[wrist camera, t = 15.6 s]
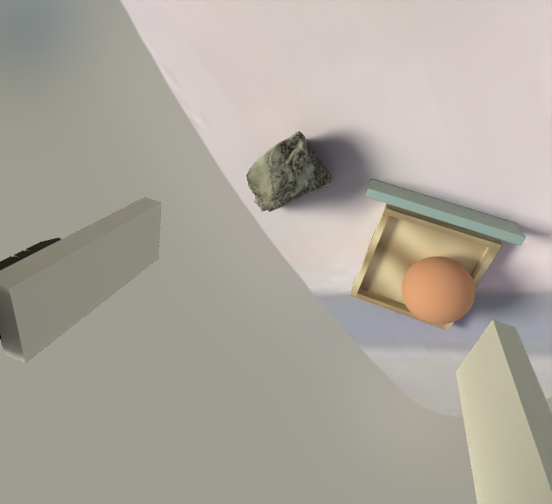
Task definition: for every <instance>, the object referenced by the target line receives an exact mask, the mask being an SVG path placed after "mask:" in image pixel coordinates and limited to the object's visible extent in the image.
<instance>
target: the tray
mask: <svg viewBox="0 0 552 504" xmlns="http://www.w3.org/2000/svg"><path fill="white" fill-rule="evenodd" d="M501 246H502V244H501V242H500V241H499V239H498V238H495V237H492V236H489V235H486V234H482V233H479V232H476V231H473V230H470V229H467V228H463V227H460V226H457V225H454V224H451V223H448V222H444V221H441V220H438V219H435V218H432V217H429V216H425V215H422V214H419V213H416V212H413V211H410V210H406V209H403V208H400V207H397V206H394V205H391V204H387V203H386V206H385V208H384V211H383V213H382V216H381V218H380V221H379V223H378V225H377V228H376V230H375V233H374V235H373V238H372V240H371V243H370V245H369V248H368V250H367V253H366V255H365V258H364V260H363V263H362V265H361V268H360V270H359V272H358V275H357V277H356V280H355V282H354V285H353V287H352V291H351V296H354V297H356V298H359V299H362V300H365V301H367V302H370V303H373V304H376V305H378V306H381V307H384V308H386V309H389V310H392V311H395V312H397V313H400V314H403V315H406V316H408V317H411V318H414V319H417V320H419V321H422V322H425V321H423V320H421V319H419V318H418V317H416V316H415V315H414V314H413V313H411V312H410V310H409V309H408V308H407V306H406V305H405V302H404V300H403V297H402V291H401V286H402V281H403V278H404V275H405V273H406V272H407V270H408V269H409V268H410V267H411V266H412V265H413V264H414V263H416V262H418V261H419V260H422V259H424V258H428V257H434V256H440V257H446V258H450V259H452V260H455V261H457V262H458V263H460V264H461V265H462V266H464V267H465V268H466V269H467V271H468V272H469V273H470V275H471V276H472V278H473V281H474V284H475V288H476V286H477V284H478V283H479V281H480V280H481V278H482V277H483V275H484V273H485V272H486V270H487V269H488V267H489V265H490V264H491V262H492V261H493V259H494V257H495V256H496V254H497V253H498V251H499V249H500V248H501ZM425 323H428V322H425ZM453 323H454V322H452V323H448V324H432V323H428V324H430V325H433V326H436V327H439V328H441V329H444V330H447V331H449V329H450V327H451V326H452V324H453Z"/></svg>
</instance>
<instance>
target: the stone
mask: <svg viewBox="0 0 552 504" xmlns="http://www.w3.org/2000/svg"><path fill="white" fill-rule="evenodd" d="M247 180H248V186H249V188H250V189H251V190H252V192H253V193H254V194H255V200H254V202H255V203H256V204H257V205H258V206H259V207H260V208H261V211H265V210H268V211H269V212H270V211H273V210H275V209H277V208H280V207H282V206H284V205H285V204H288V203H289V202H291V201H293V200H295V199H297V198H299V197H301V196H304V195H307V194H308V193H310V192H313V191H315V190H318V189H319V188H322V187H327V186H329V185H330V183H331V175H330V174H329V172H328V171H327V170H326V168H325V167H324V166H323V165H322V163H321V161H320V160H319V159H318V158H317V156H316V154H315V153H314V152H313V151H312V150H311V148H310V146H309V145H308V143H307V141H306V139H305V136H304V135H303V134H302V133H301V132H297V133H295V134H294V135H292V136H291V137H290V138H288V139H286V140H284V141H282V142H280V143H278V144H277V145H275V146H274V147H272V148H271V149H270V150H269V151H267V152H266V153H265V154H264V155H263V156H261V157H260V158H259V159H258V160H257V161H256V162H255V163H254V164H253V165H252V167H251V168H250V169H249V171H248V174H247Z"/></svg>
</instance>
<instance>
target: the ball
mask: <svg viewBox="0 0 552 504" xmlns="http://www.w3.org/2000/svg"><path fill="white" fill-rule="evenodd" d="M401 291H402V297H403V300H404V302H405V305H406V306H407V308H408V309H409V310H410V312H411V313H413V314H414V315H415V316H416V317H418V318H419V319H421V320H423V321H425V322H428V323H432V324H448V323H452V322H455V321H457V320H459V319H461V318H462V317H463V316H465V315H466V314H467V313H468V311H469V310H470V309H471V307H472V305H473V303H474V300H475V284H474V281H473V278H472V276H471V275H470V273H469V272H468V271H467V269H466V268H465V267H464V266H462V265H461V264H460V263H458V262H457V261H455V260H452V259H450V258H446V257H440V256H434V257H428V258H424V259H422V260H419V261H418V262H416V263H414V264H413V265H412V266H411V267H410V268H409V269H408V270H407V272H406V273H405V275H404V278H403V281H402V286H401Z"/></svg>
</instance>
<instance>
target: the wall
mask: <svg viewBox="0 0 552 504" xmlns="http://www.w3.org/2000/svg"><path fill="white" fill-rule="evenodd" d="M365 197H368V198H372V199H375V200H378V201H381V202H384V203H387V204H391V205H394V206H397V207H400V208H403V209H406V210H410V211H413V212H416V213H419V214H422V215H425V216H429V217H432V218H435V219H438V220H441V221H444V222H448V223H451V224H454V225H457V226H460V227H463V228H467V229H470V230H473V231H476V232H479V233H482V234H486V235H489V236H492V237H495V238H498V239H501V240H505V241H508V242H511V243H514V244H517V245H520V246H521V244H522V243H523V241H524V240H525V238H526V237H525V235H524V234H523V233H522V231H521V230H520V228H519V227H518V225H517V224H516V223H514V222H510V221H507V220H504V219H501V218H497V217H494V216H491V215H488V214H484V213H481V212H478V211H475V210H471V209H468V208H465V207H461V206H458V205H455V204H452V203H448V202H445V201H442V200H439V199H435V198H432V197H429V196H426V195H422V194H419V193H416V192H413V191H409V190H406V189H403V188H400V187H396V186H393V185H390V184H386V183H383V182H380V181H377V180H373V179H371V180H370V183H369V186H368V189H367V192H366V195H365Z"/></svg>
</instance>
